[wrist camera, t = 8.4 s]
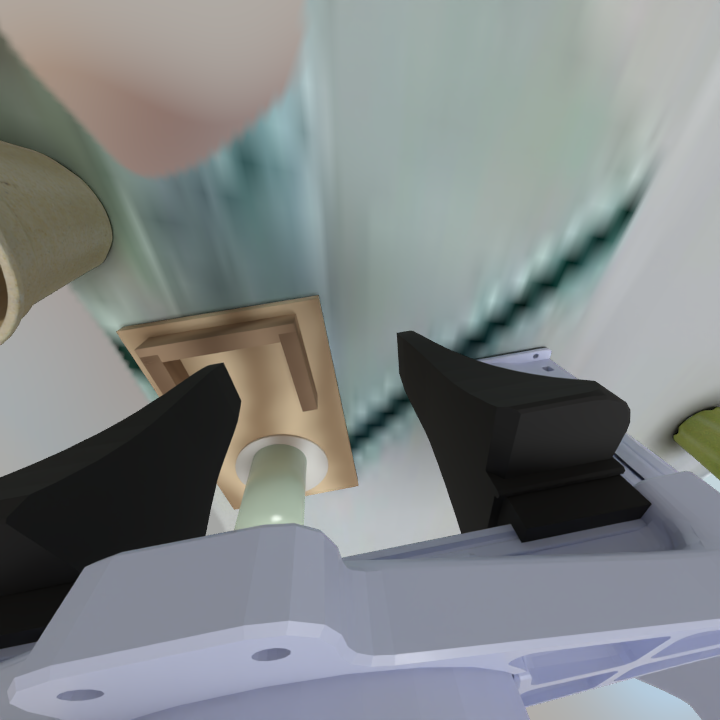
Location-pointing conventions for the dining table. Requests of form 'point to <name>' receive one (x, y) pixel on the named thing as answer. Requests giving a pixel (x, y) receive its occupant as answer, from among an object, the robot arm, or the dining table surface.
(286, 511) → the sage green cylinder
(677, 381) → the dining table surface
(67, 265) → the flower pot
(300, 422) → the board
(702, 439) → the plant pot
